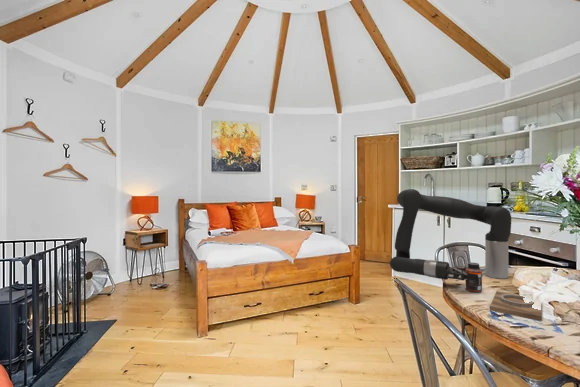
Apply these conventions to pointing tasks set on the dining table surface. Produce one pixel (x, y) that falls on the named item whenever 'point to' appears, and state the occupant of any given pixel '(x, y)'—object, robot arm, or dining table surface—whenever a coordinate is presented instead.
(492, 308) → the walnut board
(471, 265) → the supplement bottle
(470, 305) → the dining table surface
